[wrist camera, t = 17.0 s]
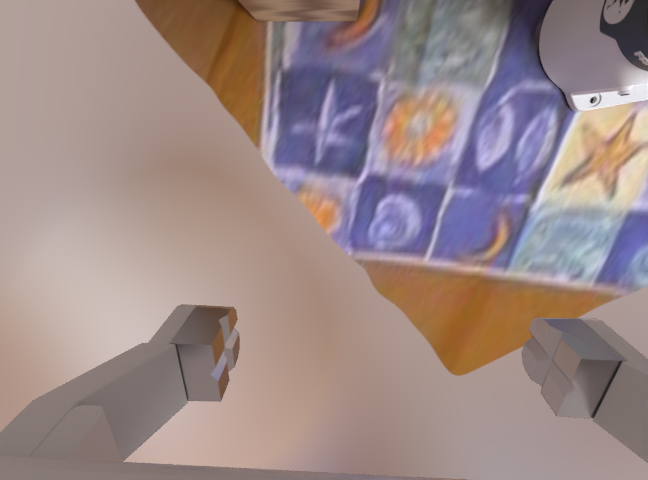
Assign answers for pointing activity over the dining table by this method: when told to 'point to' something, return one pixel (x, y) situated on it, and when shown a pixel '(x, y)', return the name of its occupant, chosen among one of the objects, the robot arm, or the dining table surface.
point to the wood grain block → (302, 10)
